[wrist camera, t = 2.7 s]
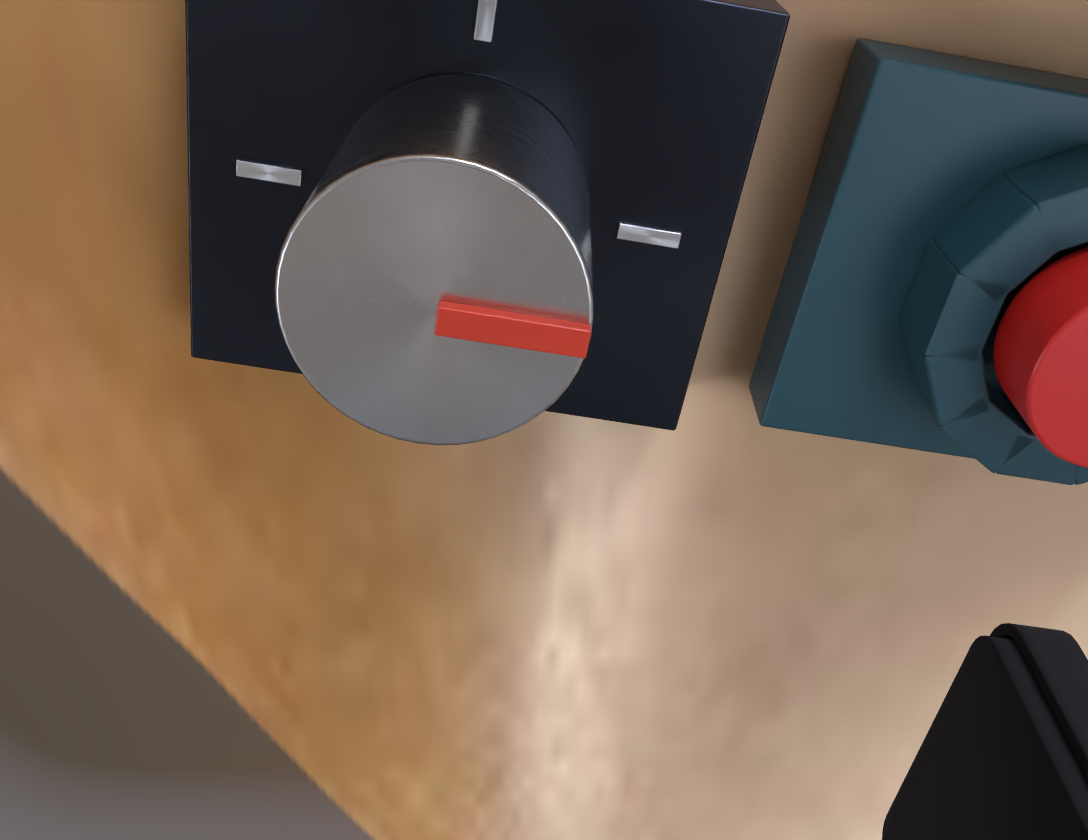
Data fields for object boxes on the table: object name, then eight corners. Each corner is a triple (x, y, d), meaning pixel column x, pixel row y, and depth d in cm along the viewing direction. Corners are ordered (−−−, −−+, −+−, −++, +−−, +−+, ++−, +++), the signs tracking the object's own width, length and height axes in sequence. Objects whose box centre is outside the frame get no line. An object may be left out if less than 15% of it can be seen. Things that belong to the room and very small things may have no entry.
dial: (327, 297, 24) (265, 431, 19) (342, 51, 21) (272, 134, 16) (564, 335, 24) (564, 476, 20) (611, 97, 22) (624, 193, 17)
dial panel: (214, 321, 27) (188, 360, 25) (213, -106, 22) (180, -96, 20) (669, 391, 28) (676, 435, 26) (774, -4, 22) (793, 16, 20)
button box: (747, 386, 27) (772, 473, 24) (856, 36, 23) (907, 82, 19) (1175, 453, 28) (1258, 545, 25) (1366, 129, 24) (1500, 188, 20)
